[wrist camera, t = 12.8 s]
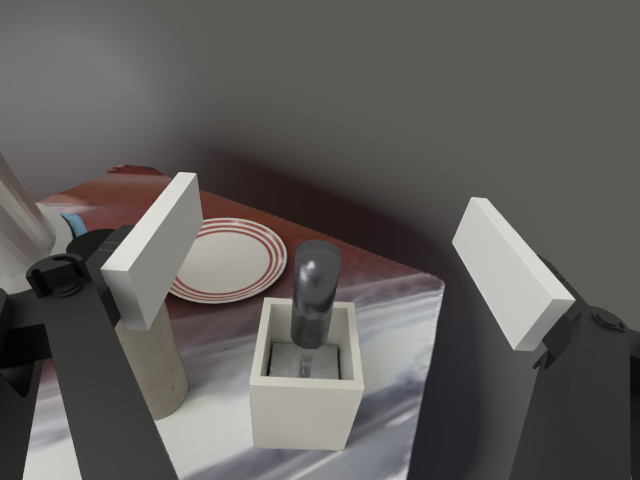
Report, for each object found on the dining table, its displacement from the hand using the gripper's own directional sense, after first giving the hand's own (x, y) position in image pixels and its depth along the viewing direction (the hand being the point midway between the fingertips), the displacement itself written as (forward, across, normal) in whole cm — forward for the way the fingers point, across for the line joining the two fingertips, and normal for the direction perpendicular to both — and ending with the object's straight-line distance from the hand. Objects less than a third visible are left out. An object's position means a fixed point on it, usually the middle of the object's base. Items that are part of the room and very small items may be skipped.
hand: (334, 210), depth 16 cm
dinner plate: (+40, -18, -40) cm, 59 cm away
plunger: (+10, +1, -33) cm, 34 cm away
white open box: (+10, 0, -40) cm, 41 cm away
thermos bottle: (+11, -20, -40) cm, 46 cm away
